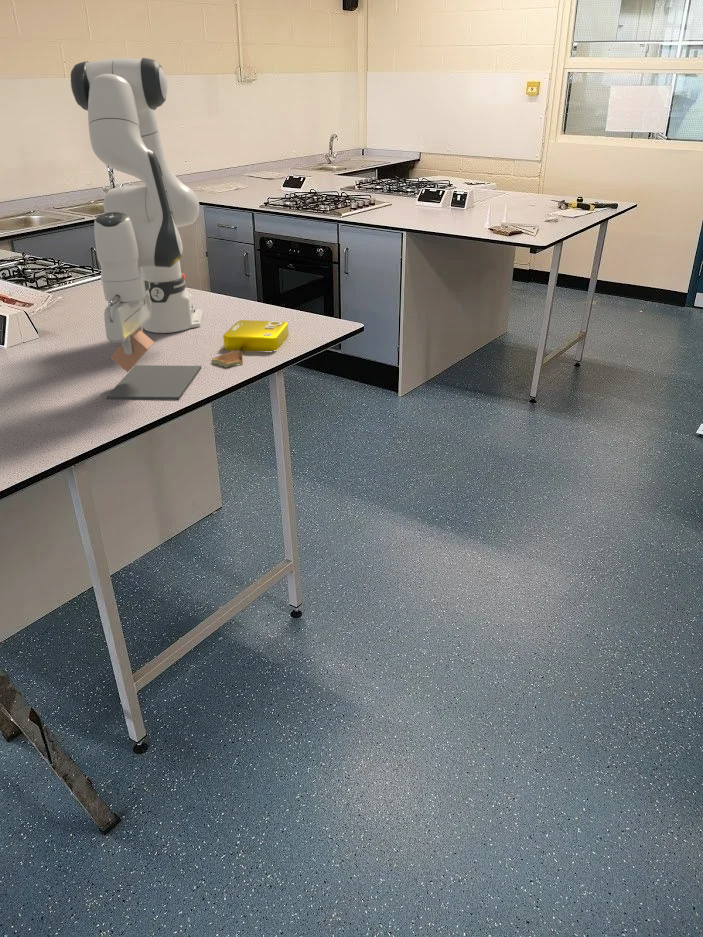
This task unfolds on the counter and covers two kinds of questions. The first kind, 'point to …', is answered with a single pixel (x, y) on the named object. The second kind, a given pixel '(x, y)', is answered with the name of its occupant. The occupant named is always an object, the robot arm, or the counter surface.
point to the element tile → (256, 335)
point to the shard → (229, 358)
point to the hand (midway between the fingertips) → (134, 348)
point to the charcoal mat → (155, 382)
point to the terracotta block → (140, 347)
